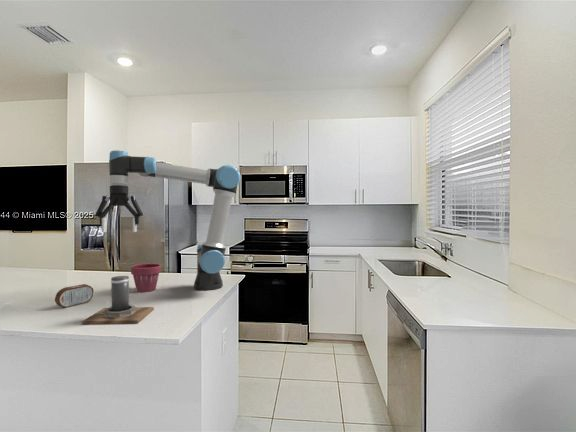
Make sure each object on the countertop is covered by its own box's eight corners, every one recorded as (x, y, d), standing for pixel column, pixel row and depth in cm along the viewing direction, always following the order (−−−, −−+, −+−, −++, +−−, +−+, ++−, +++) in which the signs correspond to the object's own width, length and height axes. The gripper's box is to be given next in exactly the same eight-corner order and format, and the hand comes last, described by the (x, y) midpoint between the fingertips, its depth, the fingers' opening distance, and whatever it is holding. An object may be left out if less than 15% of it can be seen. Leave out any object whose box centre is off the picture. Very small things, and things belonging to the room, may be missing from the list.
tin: (91, 300, 149) (90, 282, 149) (94, 301, 147) (94, 282, 147) (54, 309, 136) (54, 289, 135) (58, 310, 134) (58, 290, 134)
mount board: (153, 309, 134) (153, 302, 134) (137, 323, 118) (137, 314, 118) (104, 310, 133) (104, 302, 133) (81, 324, 117) (81, 315, 117)
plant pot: (166, 287, 174) (165, 263, 174) (152, 293, 160) (152, 268, 160) (140, 286, 175) (140, 263, 175) (125, 293, 161) (125, 267, 161)
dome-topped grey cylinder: (131, 310, 129) (131, 275, 129) (124, 315, 123) (124, 278, 123) (116, 310, 129) (115, 275, 129) (108, 315, 123) (107, 279, 122)
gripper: (150, 186, 151) (150, 231, 151) (95, 185, 149) (96, 231, 150) (143, 184, 143) (144, 232, 144) (86, 184, 142) (86, 232, 142)
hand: (119, 232), depth 147 cm, fingers open, 13 cm apart
